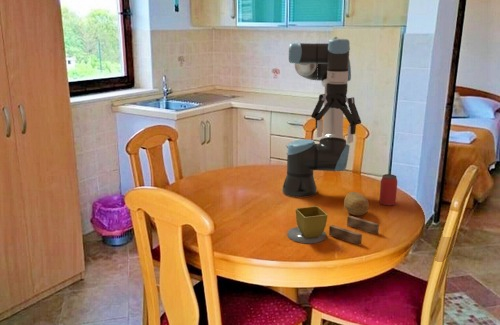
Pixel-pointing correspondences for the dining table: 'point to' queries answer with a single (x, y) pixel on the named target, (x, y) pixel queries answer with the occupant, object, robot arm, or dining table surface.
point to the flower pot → (311, 221)
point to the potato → (356, 203)
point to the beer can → (388, 190)
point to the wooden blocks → (350, 235)
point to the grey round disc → (299, 237)
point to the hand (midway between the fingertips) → (334, 139)
